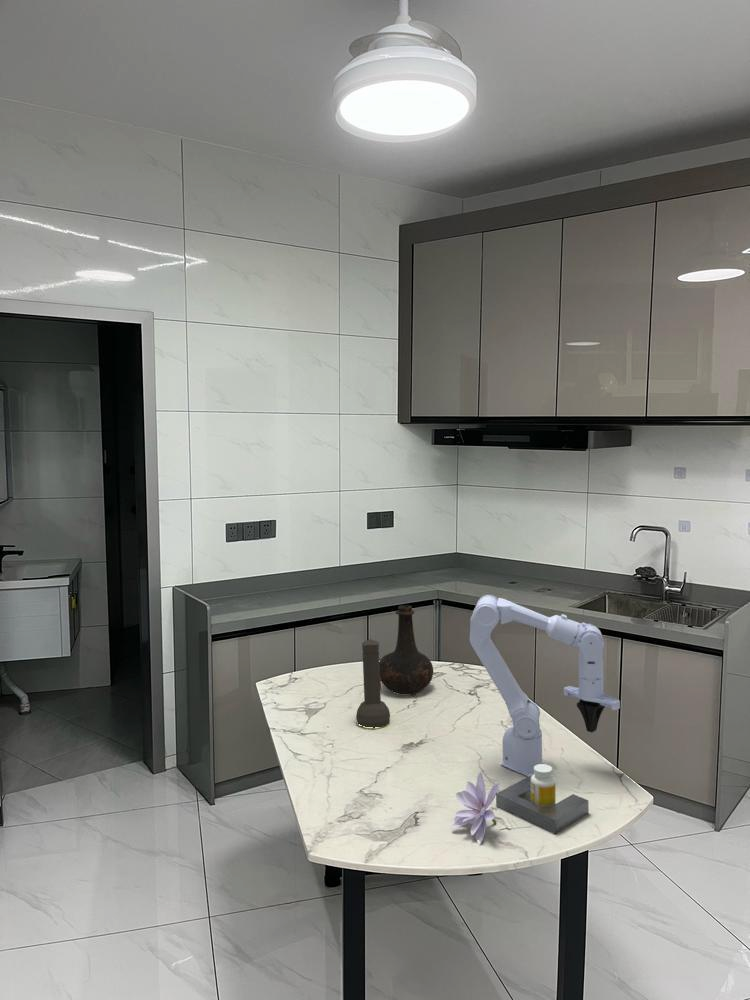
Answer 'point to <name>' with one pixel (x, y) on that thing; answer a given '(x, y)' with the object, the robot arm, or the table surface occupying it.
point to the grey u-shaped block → (549, 819)
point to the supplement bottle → (543, 786)
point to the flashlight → (372, 689)
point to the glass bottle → (405, 660)
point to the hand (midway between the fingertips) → (591, 730)
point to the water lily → (476, 807)
